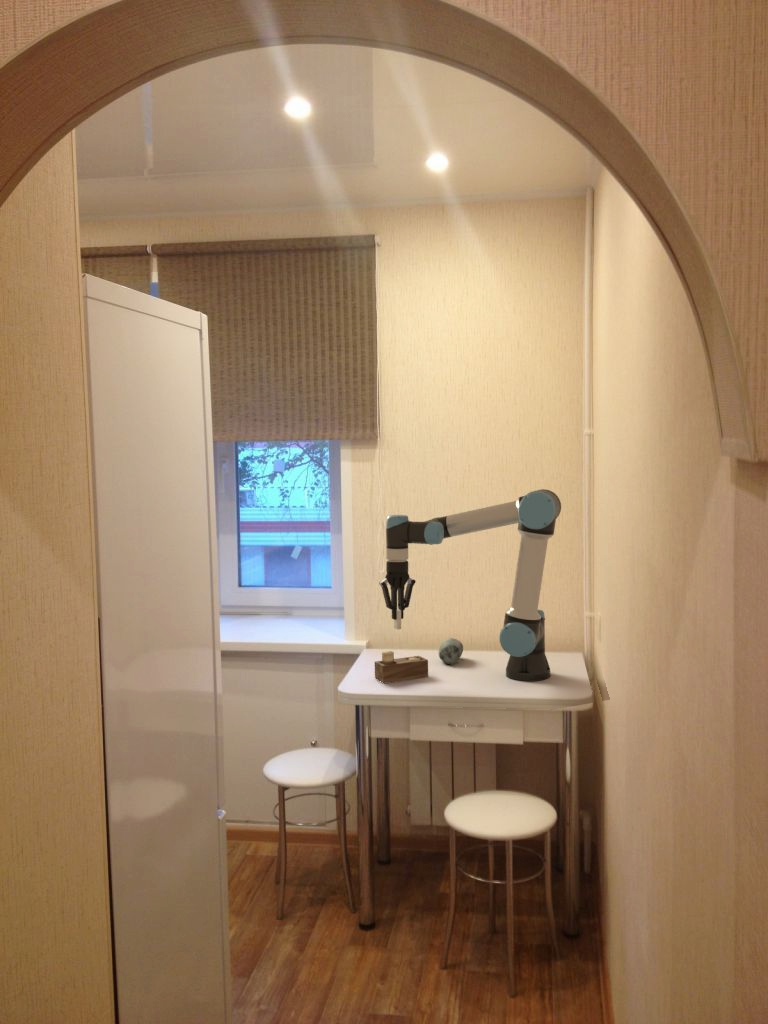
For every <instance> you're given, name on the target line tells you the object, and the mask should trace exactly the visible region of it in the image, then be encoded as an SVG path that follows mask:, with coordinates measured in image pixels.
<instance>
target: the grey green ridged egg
mask: <svg viewBox="0 0 768 1024" xmlns="http://www.w3.org/2000/svg"><path fill="white" fill-rule="evenodd" d="M463 651H464V644H463V643H462V642H461V641H460V640H459V639H457V638H453V637H452V638H451V637H450V638H447V639H444V641H443V642H442V643H441V644H440V646H439V649H438V657H439V659H440V661H442V662H444V663H446V664H447V665H455V664H457V663H458V662H459V661H460V659H461V657H462V655H463Z"/></svg>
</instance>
